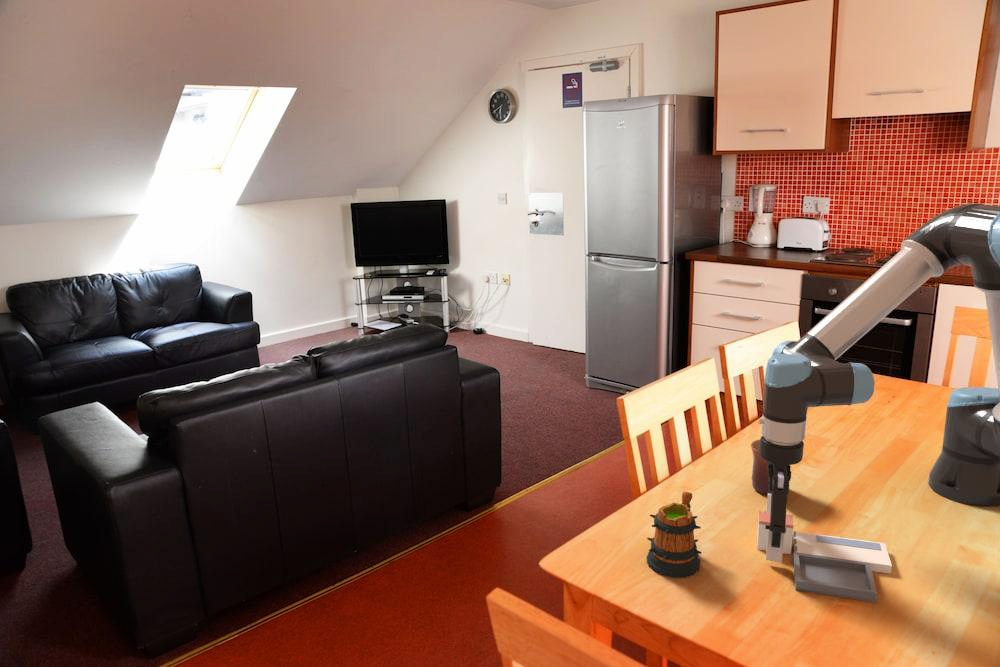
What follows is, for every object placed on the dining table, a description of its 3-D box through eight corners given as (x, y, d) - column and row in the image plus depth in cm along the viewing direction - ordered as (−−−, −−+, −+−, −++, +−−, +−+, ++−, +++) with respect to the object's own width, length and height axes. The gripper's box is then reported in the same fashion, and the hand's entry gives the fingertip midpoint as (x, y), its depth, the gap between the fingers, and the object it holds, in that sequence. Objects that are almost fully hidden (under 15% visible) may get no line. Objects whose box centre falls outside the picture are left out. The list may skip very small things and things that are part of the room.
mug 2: (745, 479, 170) (748, 437, 168) (786, 482, 169) (789, 440, 166) (752, 504, 159) (755, 459, 156) (795, 507, 157) (799, 462, 155)
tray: (868, 571, 134) (869, 562, 133) (876, 602, 125) (877, 593, 124) (793, 560, 138) (793, 552, 137) (795, 590, 129) (796, 580, 128)
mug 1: (691, 585, 131) (694, 525, 128) (636, 569, 136) (638, 511, 133) (712, 550, 142) (716, 495, 139) (661, 537, 147) (663, 483, 144)
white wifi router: (884, 550, 140) (885, 542, 140) (890, 573, 133) (892, 565, 132) (793, 538, 145) (793, 530, 145) (794, 559, 138) (795, 551, 137)
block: (790, 543, 143) (792, 515, 142) (790, 554, 140) (793, 525, 138) (757, 539, 145) (759, 511, 144) (757, 549, 142) (759, 521, 140)
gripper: (760, 413, 150) (752, 509, 155) (760, 462, 127) (752, 573, 132) (800, 416, 147) (791, 514, 153) (808, 468, 124) (797, 580, 130)
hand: (773, 541), depth 142 cm, fingers open, 13 cm apart
